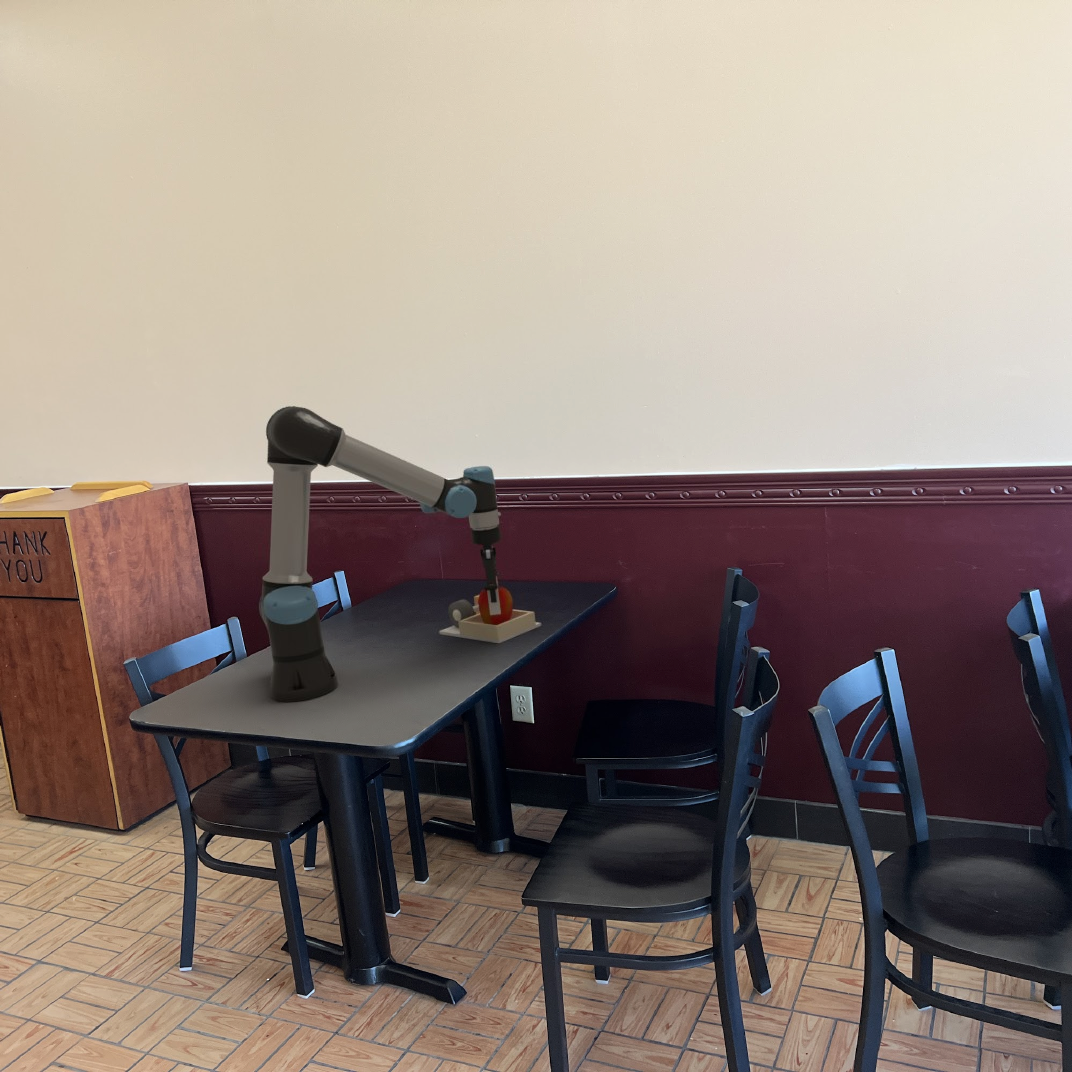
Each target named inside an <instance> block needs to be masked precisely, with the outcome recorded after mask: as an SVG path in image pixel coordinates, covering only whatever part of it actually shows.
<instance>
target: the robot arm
mask: <svg viewBox="0 0 1072 1072" xmlns="http://www.w3.org/2000/svg"><path fill="white" fill-rule="evenodd" d="M265 436H266V440H267V458H266V461H267V463H266V464H267V465H268V466H269V467H270V468H272V471H273V475H272V477H273V479H272V499H271V500H272V501H271V524H270V525H271V526H270V527H271V529H270V551H269V552H270V553H269V554H270V555H269V570H268V572H267V573H266V574H265V575H263V576H262V589H261V596H260V599H259V602H258V606H259V607H258V608H259V609H258V610H259V615H260V617H261V619H262V621H263V622H264V624H265V627H266V629H267V633H268V638H269V644H270V651H271V656H272V664H273V665H272V669H271V670H272V671H271V676H270V682H269V692H270V698H271V699H272V700H274V701H277V702H284V703H285V702H288V703H289V702H299V701H300V702H301V701H306V700H311V699H314V698H318V697H321V696H323V695H326V694H329V693H330V692H332V691H334V690H335V689H337V687H338V684H339V683H338V678H337V674H336V671H335V670H334V668H333V666H332V664H331V662H330V660H329V658H328V656H327V654H326V652H325V644H324V639H323V633H322V625H321V620H320V615H319V609H318V608H319V602H318V599H317V595H316V593H315V591H314V590H313V577H312V576H311V575H310V574H309V573H308V571H307V569H308V566H307V565H308V548H309V525H310V523H309V521H310V503H311V499H310V498H311V482H312V481H311V479H312V478H311V476H312V472H313V471H314V470H315V469H317V467H318V466H319V465H320V466H322V467H324V468H328V467H331V466H334V467H336V468H338V469H341V470H343V471H345V472H348V473H349V474H352V475H355V476H357V477H359V478H362V479H365V481H366V480H367V481H369V482H372V483H373V484H376V485H378V486H381V487H384V488H385V489H387V490H391V492H396V493H397V494H400V495H402V496H403V497H407V498H409V499H412V500H414V501H416V502H418V503H419V506H420V509H421V511H422V512H423V513H424V514H436V513H440V512H442V513H444V514H446V515H449V516H451V517H452V518H455V519H464V518H467V517H468V522H469V527H470V528H471V530H470V535H471V542H472V543H473V545H477V546H482V548H481V549H480V550H479V551H480V558H481V561H482V567H483V568H484V572H485V580H486V586H484V587H483V589H484V590H485V591H487V593H488V601H489V609H490V615H496V614H501V610H500V602H499V594H498V587H499V582H498V577H499V576H500V572H499V571H497V568H496V566H497V550H496V547H494V546H493V544H496V543H499V542H500V541H501V540H502V531H501V527H500V526H499V525H500V519H499V517H500V516H502V513H501V512H500V511H499V509H498V502H497V501H498V500H497V492H496V490H497V489H496V482H495V476H494V470H493V469H492V467H490V466H488V465H483V466H482V465H481V466H472V467H467V468H464V470H463V474H462V477H458V478H452V479H447V478H445V477H442V476H441V475H438V474H436V473H434V472H431V471H430V470H427V469H424V468H423V467H420V466H418V465H415V464H413V463H412V462H409V461H406V460H405V459H403V458H400V457H398V456H395V455H393V454H391V453H388V452H386V451H384V450H383V449H380V448H377V447H375V446H373V445H371V444H369V443H366V442H363V441H362V440H359V439H356V438H354V437H352V436H350V435H347V434H346V432H345V430H344V428H342V427H340V426H338V425H336V424H334V423H332V422H330V421H329V420H327V419H325V418H323V417H322V416H320V415H319V414H317V412H314V411H313V410H311V409H309V408H306V407H302V406H301V407H300V406H294V405H293V406H290V405H289V406H285V407H282V408H279V409H278V410H276V411H275V412H274V413H273V414H272V415H271V417H269V420H268V421H267V423H266V428H265Z"/></svg>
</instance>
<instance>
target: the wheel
mask: <svg viewBox="0 0 1072 1072" xmlns="http://www.w3.org/2000/svg"><path fill="white" fill-rule="evenodd" d="M477 610H479V605H476V606H475V605H472V604H471V603H470V602H469V600H467V599H464V598H463V599H460V600H456V601H454V602H452V603H450V604H449V606H448V611H447V612H448V618H449V621H450V622H451V624H452V626H455V627H457V628H459V623H458V621H461V620H463V619H466V618H469V617H471V616H474V615H476V611H477Z"/></svg>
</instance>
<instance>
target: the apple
mask: <svg viewBox="0 0 1072 1072" xmlns="http://www.w3.org/2000/svg"><path fill="white" fill-rule="evenodd" d="M498 594H499V602H500V610H501V614H496V615H490V609H489V601H488V593H487V591H485V590H484V588H483V589H482V590H481V592H480V593H479V594H478V595H479V599H478V605H479V611H480V615H481V617H482V620H483V622H484V624H491V625H499V624H501V623H504V622H507V621H509V620H510V618H511V615H512V612H513V608H514V607H513V605H514V604H513V603H514V601H513V597H512V595H511V593H510V591H509V590H508V589H507V588H505V587H503V586H498Z"/></svg>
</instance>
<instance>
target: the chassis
mask: <svg viewBox="0 0 1072 1072" xmlns="http://www.w3.org/2000/svg"><path fill="white" fill-rule="evenodd" d="M479 595H480V594H478V595H475V596H474V597H473V599H474V600H473V603H474V606H476V605H478V599H479ZM535 615H536V613H535V611H530V610H529V611H528V610H521V609H513V612H512V615H511V618H510V620H509V621H507V622H504V623H501V624H499V625H491V624H484V622H483V620H482V617H481V615H480V611H479V610H477V611H475V615H474V616H471V617H469V618H466V619H463V620H461V621H458V623H459V628H457V627H455V626H454V625H452V626H449V627H446V628H444V629H440V630H439V632H438V633H439V635H443V636H450V637H457V638H463V639H469V640H476V641H482V642H488V643H494V644H495V643H496V644H500V643H504V642H506V641H508V640H511V639H513V638H515V637H517V636H520V635H522V634H525V633H528V632H529V631H532V630H534V629H537V628H539V627H541V626H542V623H541V622H536V616H535Z"/></svg>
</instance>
